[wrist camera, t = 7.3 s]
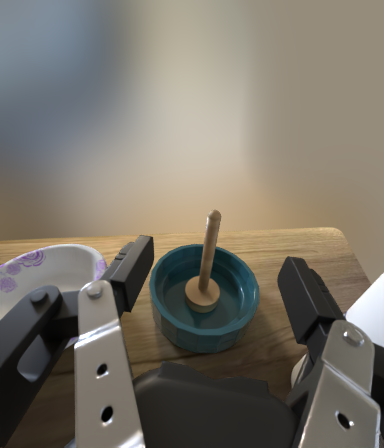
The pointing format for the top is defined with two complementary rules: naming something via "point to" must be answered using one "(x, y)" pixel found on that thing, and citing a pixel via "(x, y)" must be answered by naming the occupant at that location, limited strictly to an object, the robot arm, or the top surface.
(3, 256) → the top surface
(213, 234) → the wooden peg on disc
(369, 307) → the cylindrical container
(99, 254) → the paper bowls
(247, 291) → the bowl
